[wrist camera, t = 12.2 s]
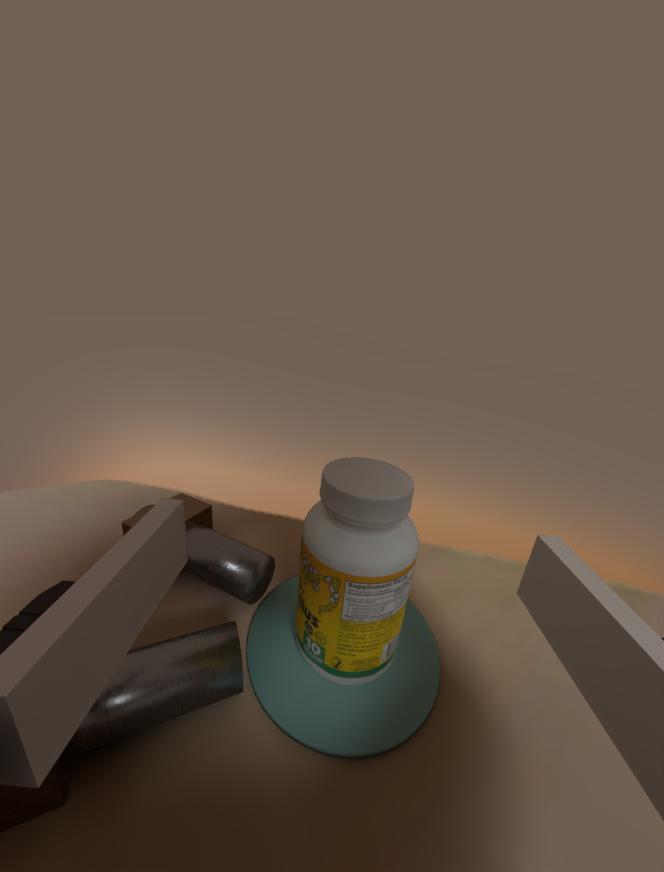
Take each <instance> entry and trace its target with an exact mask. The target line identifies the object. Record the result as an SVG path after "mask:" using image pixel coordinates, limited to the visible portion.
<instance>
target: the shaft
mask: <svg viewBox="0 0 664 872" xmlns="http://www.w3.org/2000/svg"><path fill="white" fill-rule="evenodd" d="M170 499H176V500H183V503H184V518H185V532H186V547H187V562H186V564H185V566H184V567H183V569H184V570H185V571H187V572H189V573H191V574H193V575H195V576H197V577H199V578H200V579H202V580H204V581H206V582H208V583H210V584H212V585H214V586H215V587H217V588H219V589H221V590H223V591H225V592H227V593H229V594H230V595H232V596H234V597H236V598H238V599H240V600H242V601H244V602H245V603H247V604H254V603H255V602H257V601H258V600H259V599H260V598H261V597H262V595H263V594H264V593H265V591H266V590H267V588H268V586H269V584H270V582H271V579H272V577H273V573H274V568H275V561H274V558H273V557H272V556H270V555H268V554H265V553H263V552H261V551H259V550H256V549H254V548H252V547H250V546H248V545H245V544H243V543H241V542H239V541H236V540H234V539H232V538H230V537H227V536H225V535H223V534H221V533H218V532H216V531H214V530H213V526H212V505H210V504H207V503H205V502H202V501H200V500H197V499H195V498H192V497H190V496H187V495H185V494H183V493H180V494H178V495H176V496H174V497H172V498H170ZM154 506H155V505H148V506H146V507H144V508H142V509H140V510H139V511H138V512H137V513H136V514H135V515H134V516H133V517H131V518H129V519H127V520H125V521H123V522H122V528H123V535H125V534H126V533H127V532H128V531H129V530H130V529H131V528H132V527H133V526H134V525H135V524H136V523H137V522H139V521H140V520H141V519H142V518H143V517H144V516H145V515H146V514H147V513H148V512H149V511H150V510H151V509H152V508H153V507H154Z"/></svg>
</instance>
